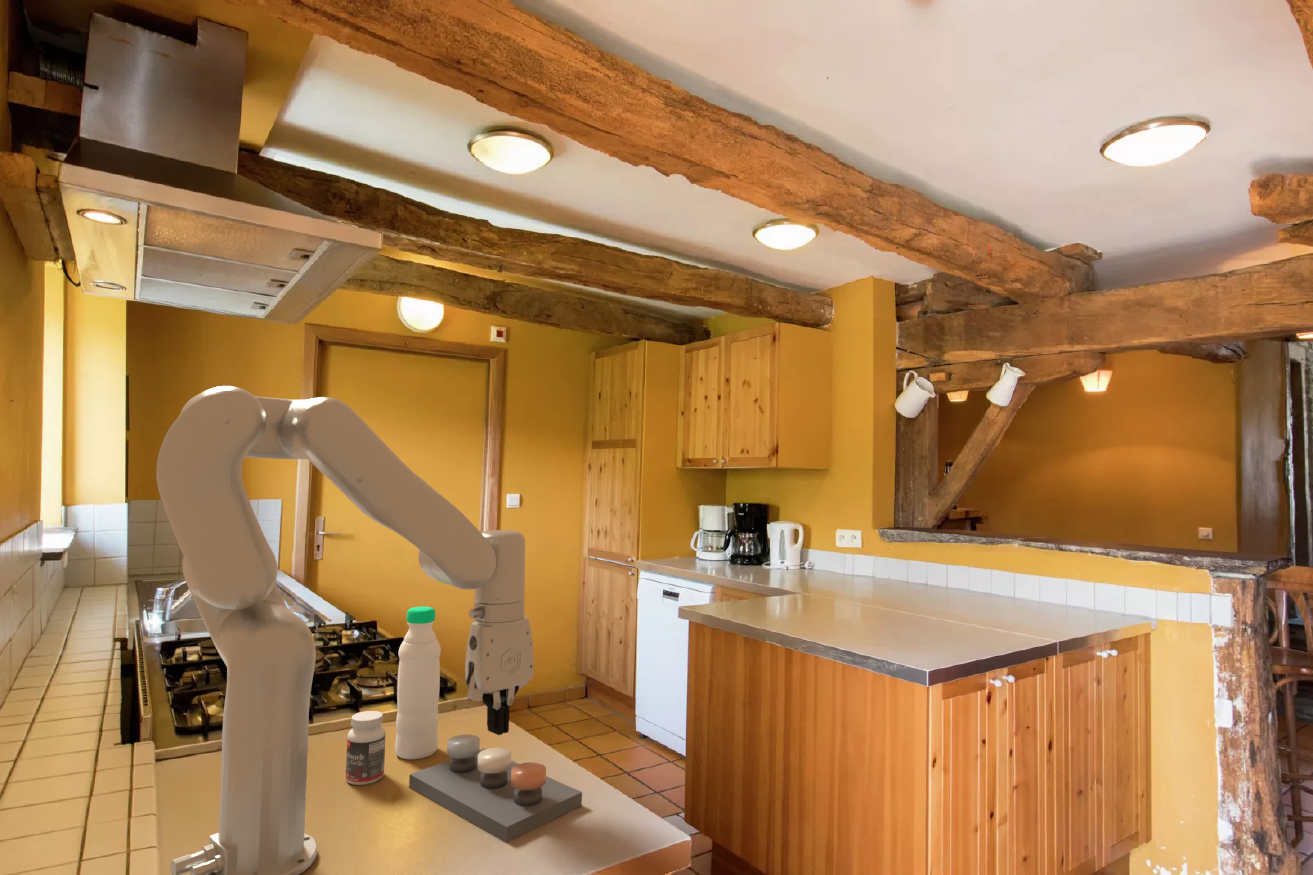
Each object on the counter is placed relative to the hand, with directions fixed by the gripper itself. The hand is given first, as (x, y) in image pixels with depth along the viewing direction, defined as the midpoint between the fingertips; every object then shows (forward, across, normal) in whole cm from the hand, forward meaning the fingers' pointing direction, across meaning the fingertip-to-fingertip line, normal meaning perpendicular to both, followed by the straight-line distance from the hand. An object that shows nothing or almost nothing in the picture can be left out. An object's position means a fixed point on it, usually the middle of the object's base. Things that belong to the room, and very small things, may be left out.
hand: (498, 731), depth 110 cm
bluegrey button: (+5, -1, +8) cm, 10 cm away
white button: (+5, -1, 0) cm, 5 cm away
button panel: (+10, -1, 0) cm, 10 cm away
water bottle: (+10, 0, +23) cm, 25 cm away
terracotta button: (+5, -1, -8) cm, 9 cm away
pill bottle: (+10, -11, +20) cm, 25 cm away
